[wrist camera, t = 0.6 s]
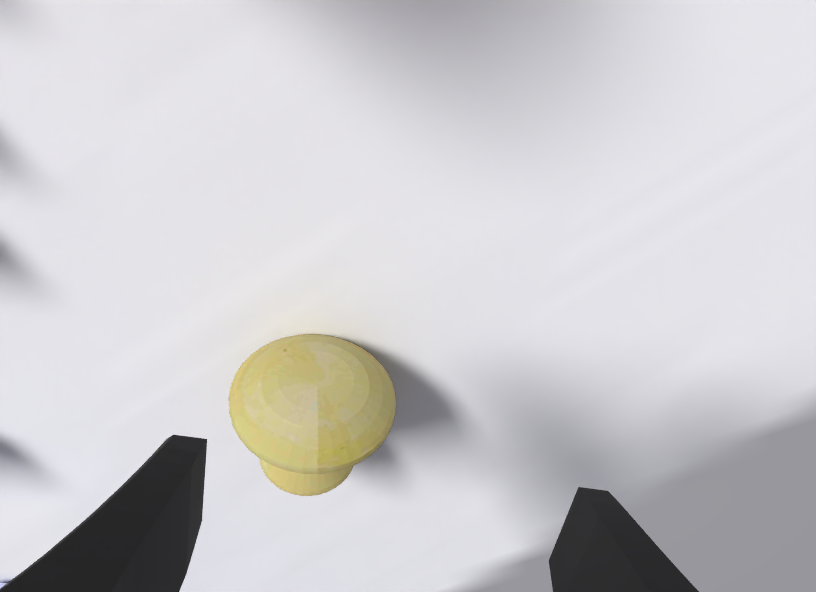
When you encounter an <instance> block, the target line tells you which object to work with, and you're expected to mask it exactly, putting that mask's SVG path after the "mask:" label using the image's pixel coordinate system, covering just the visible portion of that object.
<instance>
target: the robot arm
mask: <svg viewBox="0 0 816 592" xmlns="http://www.w3.org/2000/svg"><path fill="white" fill-rule="evenodd" d="M206 447H207V439H202V438H194V437H186V436H179V435H172V436H171V437H169V438H168V439H166V441H165V442H164V443H163V444H162V445H161V446H160V447H159V448H158V449H157V450H156V451H155V453H154V454H153V455H152V456H151V457H150V458H149V459H148V460H147V461H146V462H145V463H144V464H143V465H142V466H141V467H140V468H139V469H138V470H137V471H136V472H135V473H134V474H133V475H132V476H131V477H130V478H129V479H128V480H127V481H126V482H125V483H124V484H123V485H122V486H121V487H120V488H119V489H118V490H117V491H116V492H115V493H114V494H113V495H112V496H111V497H109V498H108V499H107V500H106V501H105V502H104V503H103V504H102V505H101V506H100V507H99V508H98V509H97V510H96V511H95V512H93V513H92V514H91V515H90V516H89V517H88V518H87V519H86V520H85V521H83V522H82V523H81V524H80V525H79V526H78V527H76V528H75V529H74V530H73V531H72V532H71V533H69V534H68V535H67V536H66V537H65V538H63V539H62V540H61V541H60V542H59V543H58V544H56V545H55V546H54V547H53V548H52V549H51V550H49V551H48V552H47V553H46V554H44V555H43V556H42V557H41V558H40V559H38V560H37V561H36V562H34V563H33V564H32V565H31V566H29V567H28V568H27V569H26V570H24V571H23V572H22V573H20V574H19V575H18V576H16V577H15V578H14V579H12V580H11V581H10V582H8V583H0V592H179V591H180V588H181V586H182V583H183V581H184V578H185V576H186V573H187V570H188V566H189V563H190V560H191V556H192V553H193V550H194V546H195V543H196V539H197V536H198V532H199V529H200V525H201V522H202V509H203V494H204V478H205V463H206ZM549 565H550V572H551V580H552V587H553V592H699V591H698V590H697V589H696V588H695V587H694V586H693V585H692V584H691V583H690V582H689V581H688V580H687V579H686V577H685V576H684V575H683V574H682V573H681V572H680V571H679V570H678V569H677V568H676V566H675V565H674V564H673V563H672V562H671V561H670V560H669V559H668V558H667V557H666V555H665V554H664V553H663V552H662V551H661V550H660V549H659V547H658V546H657V545H656V544H655V543H654V542H653V541H652V540H651V538H650V537H649V536H648V535H647V534H646V533H645V532H644V530H643V529H642V528H641V527H640V526H639V525H638V524H637V523H636V521H635V520H634V519H633V518H632V517H631V516H630V515H629V513H628V512H627V511H626V510H625V509H624V508H623V507H622V506H621V504H620V503H619V502H618V501H617V500H616V499H615V498H614V497H613V496H612V495H611V494H610V493H609V492H608V491H604V490H596V489H588V488H581V487H578V490H577V492H576V495H575V497H574V500H573V502H572V505H571V507H570V510H569V512H568V515H567V517H566V520H565V522H564V524H563V527H562V529H561V532H560V534H559V537H558V539H557V542H556V544H555V547H554V549H553V552H552V554H551V557H550V559H549Z"/></svg>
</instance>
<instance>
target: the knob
mask: <svg viewBox="0 0 816 592" xmlns="http://www.w3.org/2000/svg"><path fill="white" fill-rule="evenodd" d="M395 410H396V397H395V391H394V387H393V384H392V381H391V379H390V377H389V375H388V373H387V372H386V370H385V369H384V368H383V366H382V365H381V364H380V363H379V362H378V361H377V360H376V359H375V358H374V357H373V356H372V355H371V354H370V353H368V352H367V351H365V350H364V349H362V348H361V347H359V346H357V345H355V344H353V343H351V342H349V341H346V340H343V339H340V338H336V337H332V336H327V335H316V334H306V335H295V336H290V337H285V338H282V339H279V340H276V341H273V342H271V343H269V344H267V345H265V346H263V347H261V348H260V349H259V350H257V351H256V352H254V353H253V354H252V355H251V356H250V357H249V358H248V359H247V360H246V361H245V362H244V363H243V364H242V365H241V367H240V368H239V370H238V371H237V373H236V375H235V377H234V379H233V382H232V384H231V388H230V394H229V413H230V417H231V420H232V424H233V427H234V429H235V431H236V433H237V435H238V436H239V438H240V440H241V441H242V442H243V443H244V444H245V446H246V447H247V448H248V449H249V450H250V451H251V452H253V453H254V454H255V455H256V456H257V457H259V460H260V464H261V467H262V469H263V471H264V473H265V475H266V476H267V477H268V479H269V480H270V481H271V482H272V483H273V484H274V485H276V486H277V487H278V488H280V489H282V490H284V491H286V492H289V493H291V494H295V495H301V496H312V495H319V494H322V493H326V492H328V491H330V490H332V489H334V488H336V487H337V486H338V485H340V484H341V483H342V482H343V481H344V480H345V479H346V478H347V477H348V475H349V474H350V472H351V470H352V468H353V466H354V465H356V464H358V463H360V462H362V461H363V460H364V459H366V458H367V457H369V456H370V455H371V454H373V453H374V452H375V451H376V450H377V449H378V448H379V447H380V445H381V444H382V443H383V441H384V440H385V438H386V437H387V435H388V434H389V432H390V429H391V427H392V424H393V421H394V417H395Z"/></svg>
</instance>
